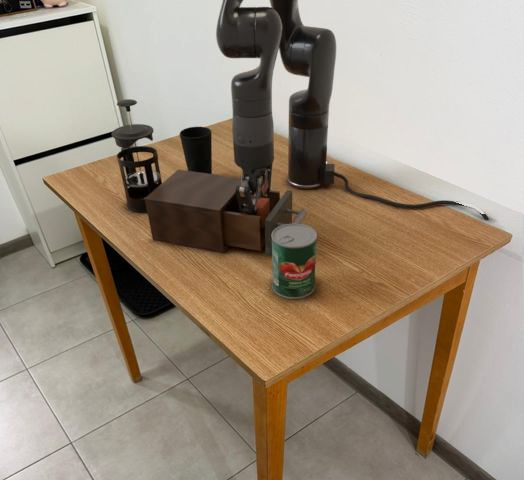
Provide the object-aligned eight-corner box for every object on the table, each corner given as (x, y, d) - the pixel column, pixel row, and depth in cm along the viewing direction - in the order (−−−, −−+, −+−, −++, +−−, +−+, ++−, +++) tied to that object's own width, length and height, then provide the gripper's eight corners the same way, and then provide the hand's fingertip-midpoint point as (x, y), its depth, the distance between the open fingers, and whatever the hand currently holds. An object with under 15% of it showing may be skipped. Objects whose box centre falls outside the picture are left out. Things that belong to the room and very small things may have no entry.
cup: (214, 186, 126) (209, 137, 118) (184, 187, 126) (177, 138, 118) (217, 173, 132) (212, 126, 124) (188, 174, 132) (181, 126, 124)
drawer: (310, 227, 108) (311, 193, 103) (291, 259, 99) (291, 224, 94) (226, 214, 114) (224, 180, 108) (201, 243, 105) (196, 209, 99)
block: (269, 218, 105) (269, 198, 102) (262, 228, 102) (261, 208, 99) (250, 215, 106) (249, 195, 103) (242, 225, 103) (241, 205, 100)
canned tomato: (294, 269, 98) (295, 218, 91) (323, 287, 94) (327, 234, 86) (263, 286, 94) (261, 234, 87) (292, 305, 90) (293, 252, 83)
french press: (175, 205, 119) (159, 101, 104) (140, 218, 115) (117, 112, 100) (150, 188, 126) (132, 89, 111) (116, 200, 122) (92, 99, 106)
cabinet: (249, 219, 113) (247, 178, 107) (223, 253, 103) (219, 210, 97) (183, 209, 118) (178, 169, 111) (152, 240, 108) (144, 198, 101)
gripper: (258, 154, 87) (261, 241, 98) (285, 125, 96) (284, 208, 108) (218, 149, 89) (225, 235, 100) (248, 122, 98) (252, 203, 110)
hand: (256, 221), depth 104 cm, fingers closed on block, 4 cm apart
